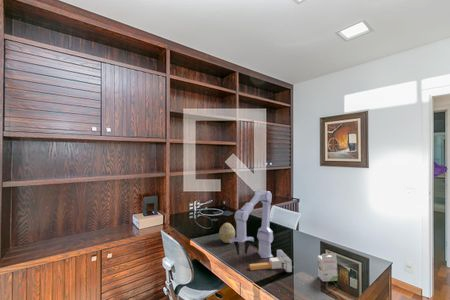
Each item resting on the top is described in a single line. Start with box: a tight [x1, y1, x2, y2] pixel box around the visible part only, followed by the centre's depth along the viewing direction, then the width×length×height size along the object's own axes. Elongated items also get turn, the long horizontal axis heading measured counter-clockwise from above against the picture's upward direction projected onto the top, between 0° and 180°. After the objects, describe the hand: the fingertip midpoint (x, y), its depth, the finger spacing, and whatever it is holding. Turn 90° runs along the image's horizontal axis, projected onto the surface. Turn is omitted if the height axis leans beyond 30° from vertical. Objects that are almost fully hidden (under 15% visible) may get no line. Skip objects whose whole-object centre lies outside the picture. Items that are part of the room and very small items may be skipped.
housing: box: [276, 249, 293, 273], centre depth 129 cm, size 14×3×7 cm, turn 9°
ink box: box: [317, 252, 339, 282], centre depth 115 cm, size 9×5×15 cm, turn 92°
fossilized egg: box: [218, 222, 236, 244], centre depth 165 cm, size 13×13×15 cm
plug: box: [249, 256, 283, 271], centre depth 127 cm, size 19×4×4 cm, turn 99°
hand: (241, 253), depth 125 cm, fingers open, 4 cm apart
